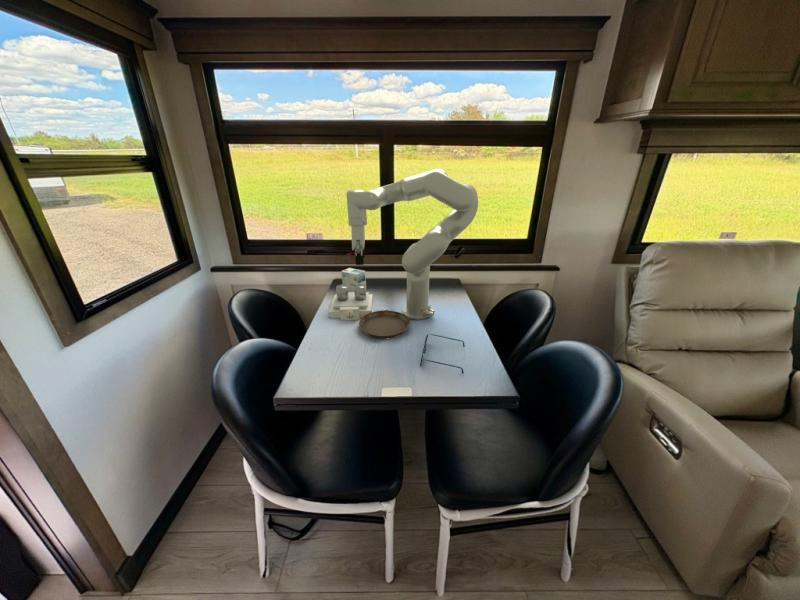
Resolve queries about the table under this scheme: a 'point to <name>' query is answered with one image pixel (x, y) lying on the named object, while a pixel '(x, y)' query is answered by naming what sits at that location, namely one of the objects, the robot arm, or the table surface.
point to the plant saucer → (384, 324)
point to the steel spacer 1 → (342, 292)
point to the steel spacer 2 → (360, 292)
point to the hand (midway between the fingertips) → (360, 261)
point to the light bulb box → (353, 278)
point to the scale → (351, 307)
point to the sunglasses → (439, 362)
